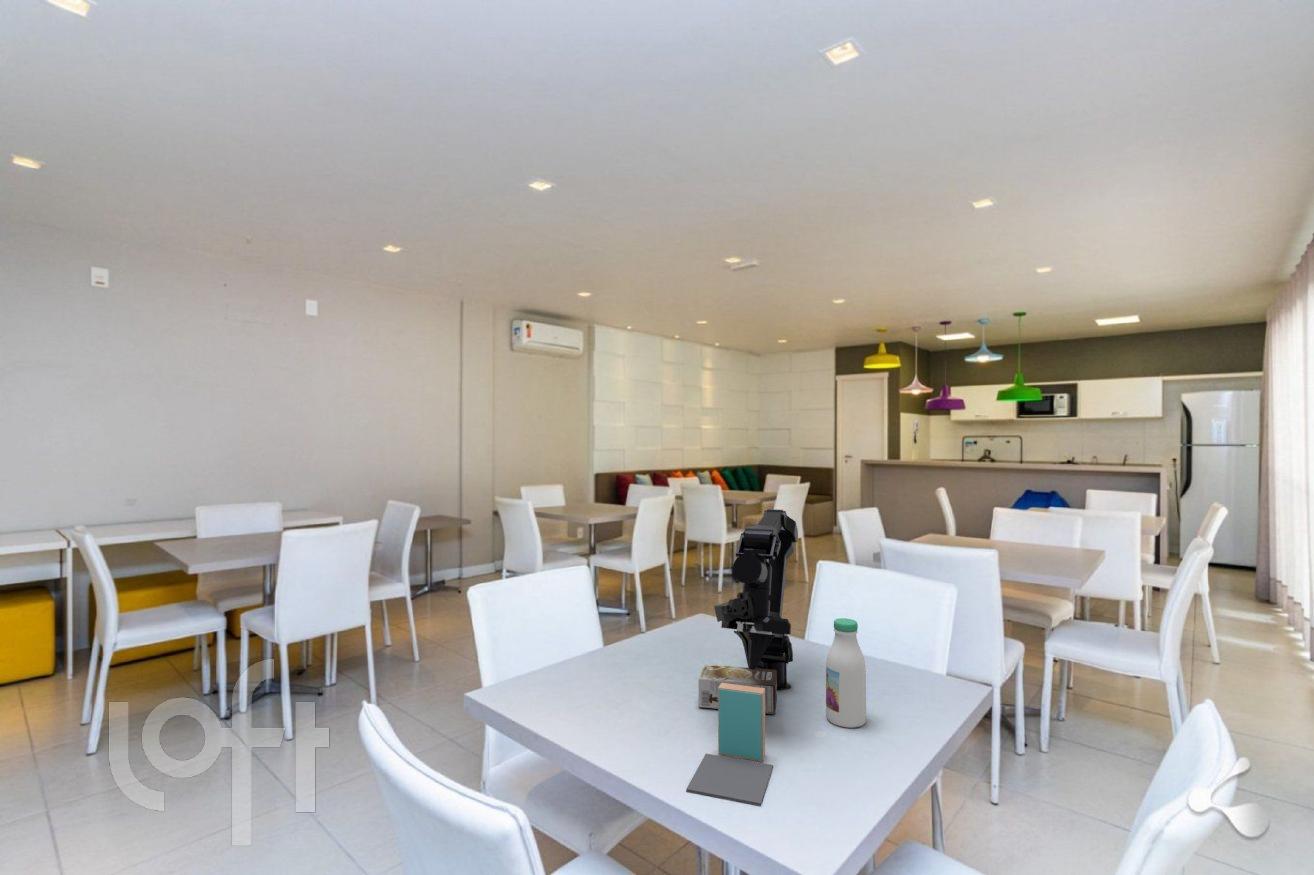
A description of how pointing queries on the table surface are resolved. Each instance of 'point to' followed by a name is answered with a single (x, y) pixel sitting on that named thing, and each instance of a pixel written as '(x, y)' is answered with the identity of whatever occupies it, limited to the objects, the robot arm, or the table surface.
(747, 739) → the block
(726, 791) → the mat
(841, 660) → the milk bottle
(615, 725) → the table surface
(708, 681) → the coffee box
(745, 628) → the robot arm
